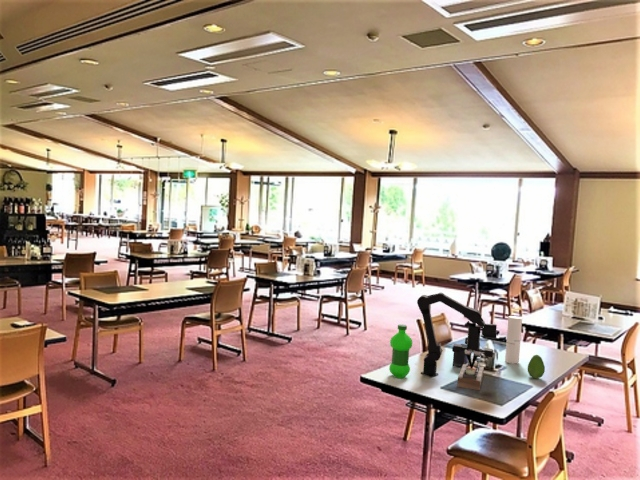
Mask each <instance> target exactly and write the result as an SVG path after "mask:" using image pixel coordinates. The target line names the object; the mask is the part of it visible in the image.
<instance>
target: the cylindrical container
mask: <svg viewBox="0 0 640 480" xmlns="http://www.w3.org/2000/svg"><path fill="white" fill-rule="evenodd" d="M522 325H523V318H522V316H517V315H516V316H515V315H509V316H508V317H507V330H506V331H507V332H506V333H507V334H506V344H505V356H504V361H505V362H506V363H508V364H513V363H517V364H519V363H520V353H521V352H520V350H521V339H522V327H523V326H522Z"/></svg>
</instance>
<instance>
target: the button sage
mask: <svg viewBox="0 0 640 480" xmlns="http://www.w3.org/2000/svg"><path fill="white" fill-rule="evenodd" d="M466 374H467V375H475V370H473V369H466Z"/></svg>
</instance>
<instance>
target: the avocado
mask: <svg viewBox="0 0 640 480" xmlns="http://www.w3.org/2000/svg"><path fill="white" fill-rule="evenodd" d="M545 367H546V366H545V364H544V361H543V358H542V357H541V356H540V355H538V354H534V355H532V357H531V358H530V361H529V362H528V364H527V372H528V375H529V376H530V377H531V378H533V379H536V380H537V379H540V378H541V377H543V376H544V375H545V372H546V370H545Z"/></svg>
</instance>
